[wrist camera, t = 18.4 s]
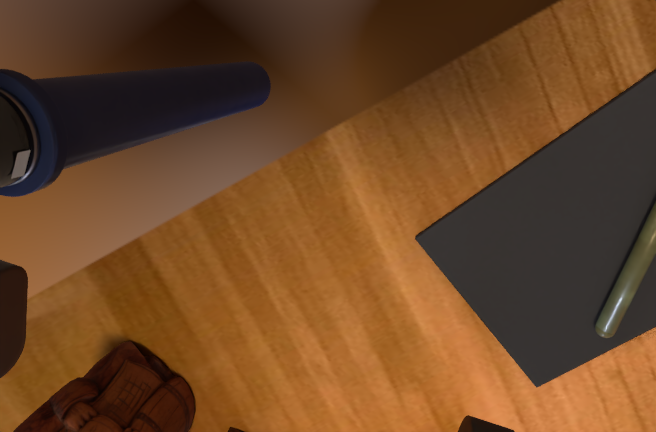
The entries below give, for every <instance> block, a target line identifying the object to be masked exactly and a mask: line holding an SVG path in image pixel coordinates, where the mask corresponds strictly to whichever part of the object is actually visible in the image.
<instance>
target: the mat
mask: <svg viewBox="0 0 656 432" xmlns="http://www.w3.org/2000/svg"><path fill="white" fill-rule="evenodd" d="M655 202H656V70H654V71H653V72H651V73H650V74H649V75H647V76H646V77H644V78H643V79H641V80H640V81H639V82H637V83H636V84H634V85H633V86H631V87H630V88H628V89H627V90H626V91H624V92H623V93H621V94H620V95H618V96H617V97H615V98H614V99H613V100H611V101H610V102H608V103H607V104H605V105H604V106H602V107H601V108H600V109H598V110H597V111H595V112H594V113H592V114H591V115H590V116H588V117H587V118H585V119H584V120H582V121H581V122H579V123H578V124H577V125H575V126H574V127H572V128H571V129H569V130H568V131H566V132H565V133H564V134H562V135H561V136H559V137H558V138H556V139H555V140H554V141H552V142H551V143H549V144H548V145H546V146H545V147H543V148H542V149H541V150H539V151H538V152H536V153H535V154H533V155H532V156H530V157H529V158H528V159H526V160H525V161H523V162H522V163H520V164H519V165H517V166H516V167H515V168H513V169H512V170H510V171H509V172H507V173H506V174H505V175H503V176H502V177H500V178H499V179H497V180H496V181H494V182H493V183H492V184H490V185H489V186H487V187H486V188H484V189H483V190H481V191H480V192H479V193H477V194H476V195H474V196H473V197H471V198H470V199H469V200H467V201H466V202H464V203H463V204H461V205H460V206H458V207H457V208H456V209H454V210H453V211H451V212H450V213H448V214H447V215H445V216H444V217H443V218H441V219H440V220H438V221H437V222H435V223H434V224H432V225H431V226H430V227H428V228H427V229H425V230H424V231H422V232H421V233H420V234H418V235H417V236H416V237H415V239H416V240H417V242H418V243H419V244H420V245H421V247H422V248H423V249H424V250H425V251H426V253H427V254H428V255H429V256H430V258H431V259H432V260H433V261H434V262H435V264H436V265H437V266H438V267H439V269H440V270H441V271H442V272H443V273H444V275H445V276H446V277H447V278H448V280H449V281H450V282H451V283H452V285H453V286H454V287H455V288H456V289H457V291H458V292H459V293H460V294H461V296H462V297H463V298H464V299H465V300H466V302H467V303H468V304H469V305H470V307H471V308H472V309H473V310H474V311H475V313H476V314H477V315H478V316H479V318H480V319H481V320H482V321H483V322H484V324H485V325H486V326H487V327H488V329H489V330H490V331H491V332H492V333H493V335H494V336H495V337H496V338H497V340H498V341H499V342H500V343H501V344H502V346H503V347H504V348H505V349H506V351H507V352H508V353H509V354H510V356H511V357H512V358H513V359H514V360H515V362H516V363H517V364H518V365H519V367H520V368H521V369H522V370H523V371H524V373H525V374H526V375H527V376H528V378H529V379H530V380H531V381H532V382H533V384H534V385H535V386H536V387H539V386H541V385H543V384H545V383H547V382H548V381H550V380H552V379H554V378H556V377H558V376H560V375H562V374H564V373H566V372H568V371H570V370H572V369H574V368H576V367H578V366H580V365H582V364H584V363H586V362H588V361H590V360H592V359H594V358H596V357H597V356H599V355H601V354H603V353H605V352H607V351H609V350H611V349H613V348H615V347H617V346H619V345H621V344H623V343H625V342H627V341H629V340H631V339H633V338H635V337H637V336H639V335H641V334H643V333H645V332H647V331H648V330H650V329H652V328H654V327H656V254H655V256H654V258H653V260H652V262H651V264H650V266H649V268H648V270H647V272H646V274H645V276H644V278H643V280H642V282H641V284H640V286H639V288H638V289H637V291H636V293H635V295H634V297H633V299H632V301H631V303H630V305H629V307H628V309H627V311H626V313H625V315H624V317H623V319H622V321H621V323H620V325H619V327H618V329H617V331H616V333H615V334H614V335H613V336H612V337H610V338H604V337H601V336H599V335H598V334H597V332H596V330H595V325H596V322H597V320H598V318H599V316H600V314H601V312H602V310H603V308H604V306H605V304H606V302H607V300H608V298H609V296H610V294H611V292H612V290H613V288H614V286H615V284H616V282H617V279H618V277H619V275H620V273H621V271H622V269H623V267H624V265H625V263H626V261H627V259H628V257H629V255H630V253H631V251H632V249H633V247H634V245H635V243H636V241H637V239H638V237H639V235H640V232H641V230H642V228H643V226H644V224H645V222H646V220H647V218H648V216H649V214H650V212H651V210H652V208H653V206H654V204H655Z"/></svg>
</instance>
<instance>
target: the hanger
mask: <svg viewBox="0 0 656 432" xmlns="http://www.w3.org/2000/svg"><path fill="white" fill-rule="evenodd" d="M655 254H656V202H655V204H654V206H653V208H652V210H651V212H650V214H649V216H648V218H647V220H646V222H645V224H644V226H643V228H642V230H641V232H640V235H639V237H638V239H637V241H636V243H635V245H634V247H633V249H632V251H631V253H630V255H629V257H628V259H627V261H626V263H625V265H624V267H623V269H622V271H621V273H620V275H619V277H618V279H617V282H616V284H615V286H614V288H613V290H612V292H611V294H610V296H609V298H608V300H607V302H606V304H605V306H604V308H603V310H602V312H601V314H600V316H599V318H598V320H597V322H596V325H595V330H596V332H597V334H598V335H599V336H601V337H604V338H610V337H612V336H613V335H614V334H615V333H616V331H617V329H618V327H619V325H620V323H621V321H622V319H623V317H624V315H625V313H626V311H627V309H628V307H629V305H630V303H631V301H632V299H633V297H634V295H635V293H636V291H637V289H638V288H639V286H640V284H641V282H642V280H643V278H644V276H645V274H646V272H647V270H648V268H649V266H650V264H651V262H652V260H653V258H654V256H655Z"/></svg>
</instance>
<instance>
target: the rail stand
mask: <svg viewBox="0 0 656 432" xmlns="http://www.w3.org/2000/svg"><path fill="white" fill-rule="evenodd" d="M228 432H243V431H240V430H237V429H234V428H231V427H230V428H229V430H228Z"/></svg>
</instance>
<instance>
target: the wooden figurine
mask: <svg viewBox="0 0 656 432" xmlns="http://www.w3.org/2000/svg"><path fill="white" fill-rule="evenodd" d="M194 412H195V408H194V399H193V396H192V394H191V391H190V389H189V387H188V385H187V383H186V382H185V381H184V380H183V379H182V378H181V377H175V376H173V375H172V374H171V372H170V371H169V369H168V368H167V367H166V366H165V365H163V364H162V363H161V362H160V360H159V359H158V358H156V357H154V356H147V357H144V356H143V355H142V354H141V353H140V351H139V350H138V349H137V347H136V346H135V345H134V344H133V343H132V342H131V341H128V342H124V343H121V344H120V345H118V346H117V347H115V348H114V349H113V350H111V351H110V352H109V353H108V354H107V355H106V356H104V357H103V358H102V359H101V360H100V361H98V362H97V363H96V364H95V365H94V366H93V367H92V368H91V369H90V370H89V372H88V373H87V374H86V375H85V376H84V377H83V378H76V379H74V380H72V381H70V382H69V383H68V384H66V385H65V386H64V387H62V388H61V389H60V390H59V391H58V392H56V393H55V394H54V395H53V396H52V397H51V398H50V399H49V400H48V401H47V402H45V403H44V404H43V405H42V406H40V407H39V408H38V409H37V410H36V411H35V412H34V413H33V414H31V415H30V416H29V417H28V418H27V419H26V420H25V421H24V422H23V423H21V424H20V425H19V426H18V427H17V428H16V429H15V430H14V431H13V432H188V431H189V429H190V427H191V424H192V420H193V416H194Z"/></svg>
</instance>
